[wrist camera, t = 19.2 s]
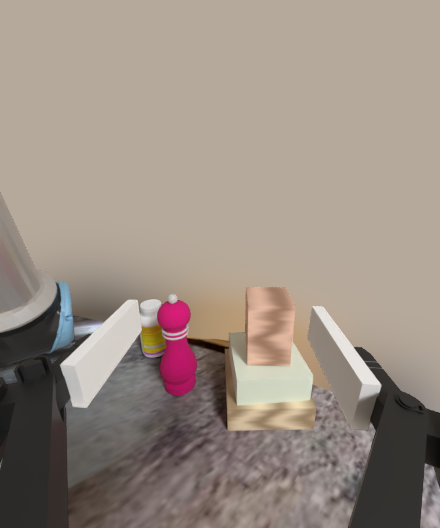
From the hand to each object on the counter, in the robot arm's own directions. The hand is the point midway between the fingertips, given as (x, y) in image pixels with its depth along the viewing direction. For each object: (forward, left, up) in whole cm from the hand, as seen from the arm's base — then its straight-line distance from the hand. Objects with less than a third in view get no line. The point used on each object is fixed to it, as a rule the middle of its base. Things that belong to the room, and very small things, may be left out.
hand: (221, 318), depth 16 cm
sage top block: (+7, +18, -23) cm, 30 cm away
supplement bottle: (-17, +30, -28) cm, 44 cm away
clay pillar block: (+8, +18, -18) cm, 26 cm away
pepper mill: (-9, +20, -28) cm, 35 cm away
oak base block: (+7, +18, -28) cm, 34 cm away
